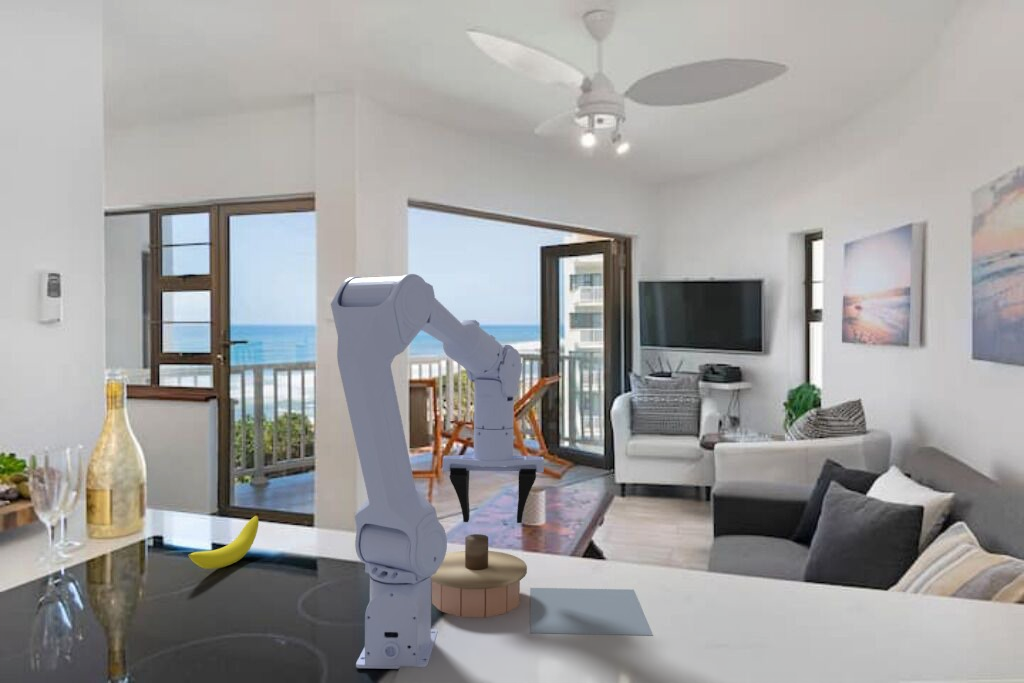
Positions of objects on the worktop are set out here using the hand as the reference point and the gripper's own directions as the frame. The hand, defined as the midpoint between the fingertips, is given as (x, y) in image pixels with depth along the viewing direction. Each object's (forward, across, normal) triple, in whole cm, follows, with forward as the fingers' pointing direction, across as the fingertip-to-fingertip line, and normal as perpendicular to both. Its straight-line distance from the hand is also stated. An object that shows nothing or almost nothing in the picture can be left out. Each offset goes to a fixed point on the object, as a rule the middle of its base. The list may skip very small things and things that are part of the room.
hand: (492, 520), depth 98 cm
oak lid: (+6, +2, +4) cm, 7 cm away
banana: (+11, +43, -9) cm, 45 cm away
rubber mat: (+10, -13, +7) cm, 18 cm away
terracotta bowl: (+10, +2, +4) cm, 11 cm away
